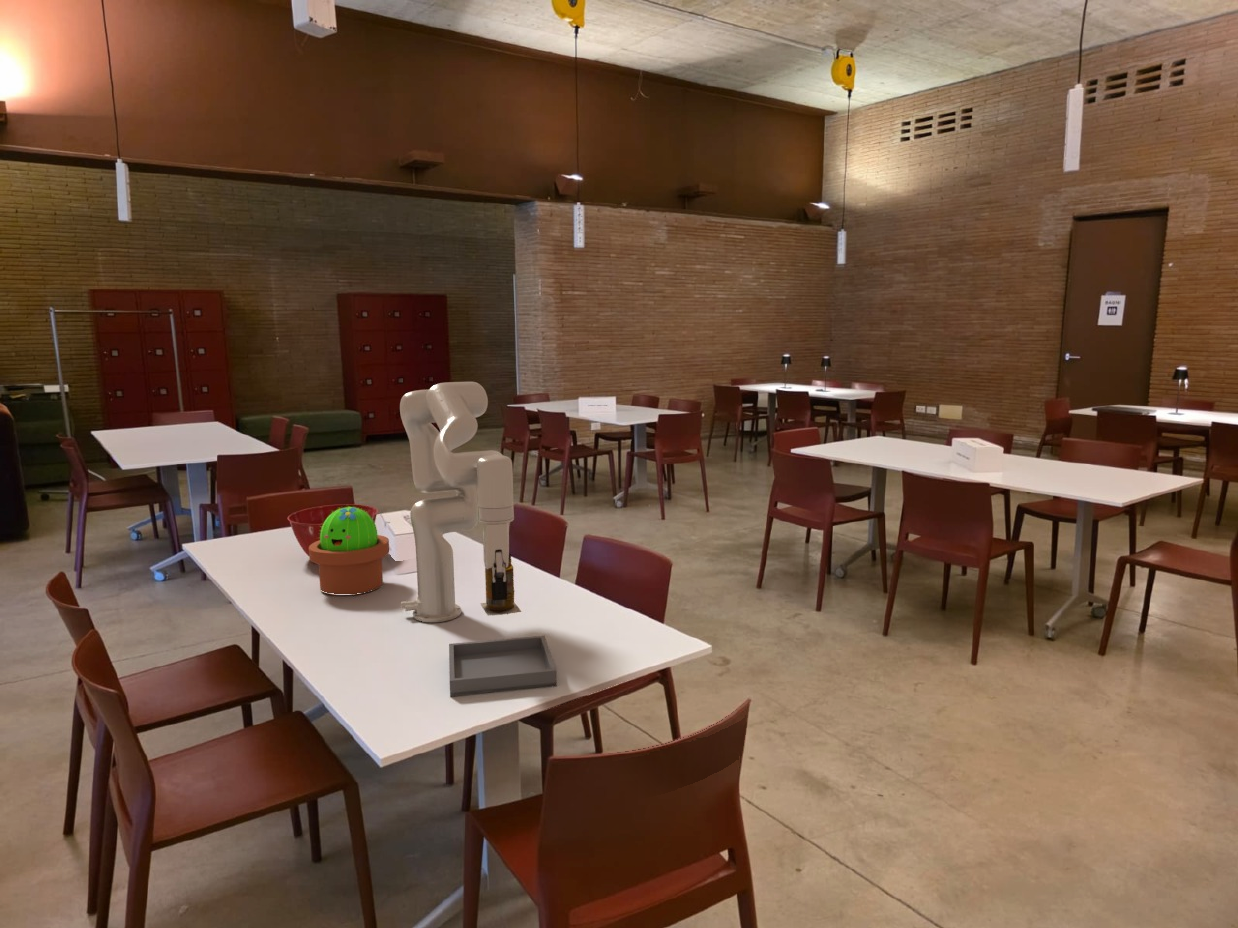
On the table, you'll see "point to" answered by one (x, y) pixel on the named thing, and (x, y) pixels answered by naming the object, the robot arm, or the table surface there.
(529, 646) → the tray
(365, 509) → the mixing bowl
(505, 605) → the condiment
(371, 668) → the table surface
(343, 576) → the potted cactus
